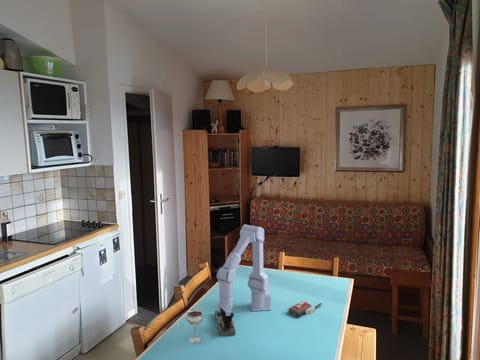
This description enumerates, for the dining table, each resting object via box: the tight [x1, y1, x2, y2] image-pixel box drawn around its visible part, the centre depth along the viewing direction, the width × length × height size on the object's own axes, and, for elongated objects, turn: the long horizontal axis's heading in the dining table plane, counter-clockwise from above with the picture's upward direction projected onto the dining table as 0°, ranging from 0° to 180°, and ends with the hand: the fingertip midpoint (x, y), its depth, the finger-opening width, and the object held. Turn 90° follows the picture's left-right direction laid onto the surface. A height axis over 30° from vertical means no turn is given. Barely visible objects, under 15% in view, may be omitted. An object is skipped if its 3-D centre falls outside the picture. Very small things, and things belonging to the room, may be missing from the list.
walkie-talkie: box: [288, 300, 323, 318], centre depth 186 cm, size 9×4×20 cm
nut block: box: [220, 317, 231, 329], centre depth 167 cm, size 4×4×5 cm
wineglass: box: [186, 308, 204, 344], centre depth 158 cm, size 7×7×12 cm
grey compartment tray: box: [214, 309, 236, 337], centre depth 172 cm, size 7×20×2 cm, turn 10°
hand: (225, 323), depth 167 cm, fingers open, 7 cm apart
